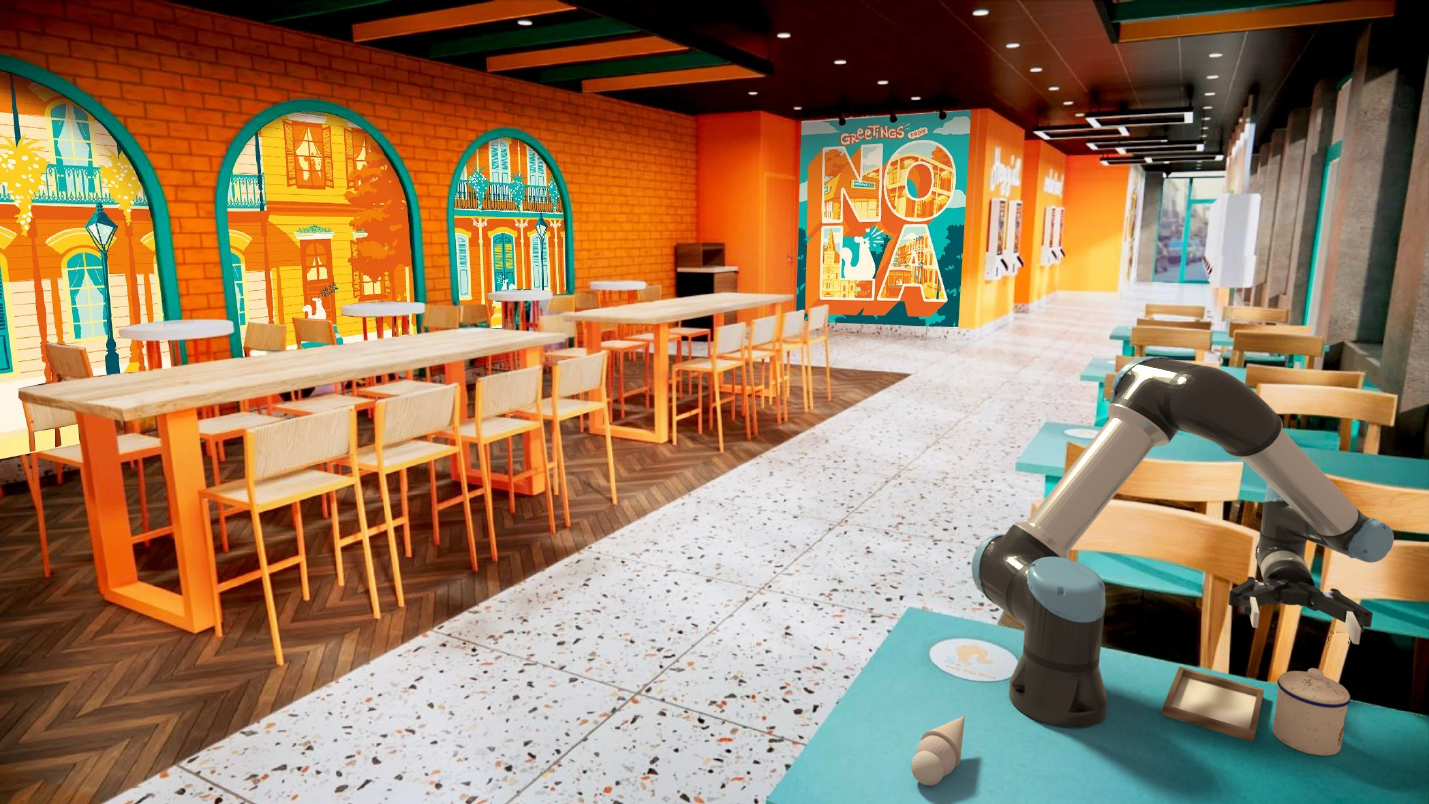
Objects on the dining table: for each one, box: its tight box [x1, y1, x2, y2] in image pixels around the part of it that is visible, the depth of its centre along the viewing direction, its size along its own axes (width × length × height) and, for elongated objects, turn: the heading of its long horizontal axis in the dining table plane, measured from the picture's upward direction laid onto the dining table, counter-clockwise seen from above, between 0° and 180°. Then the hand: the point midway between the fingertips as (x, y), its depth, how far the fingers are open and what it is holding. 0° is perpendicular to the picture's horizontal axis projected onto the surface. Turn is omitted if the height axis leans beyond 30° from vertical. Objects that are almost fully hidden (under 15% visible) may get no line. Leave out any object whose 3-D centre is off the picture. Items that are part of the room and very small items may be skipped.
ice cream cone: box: [910, 715, 966, 786], centre depth 123 cm, size 6×6×15 cm
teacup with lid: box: [1272, 667, 1352, 757], centre depth 129 cm, size 12×9×12 cm
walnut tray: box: [1161, 666, 1265, 743], centre depth 138 cm, size 13×16×2 cm
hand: (1305, 628), depth 136 cm, fingers open, 13 cm apart
